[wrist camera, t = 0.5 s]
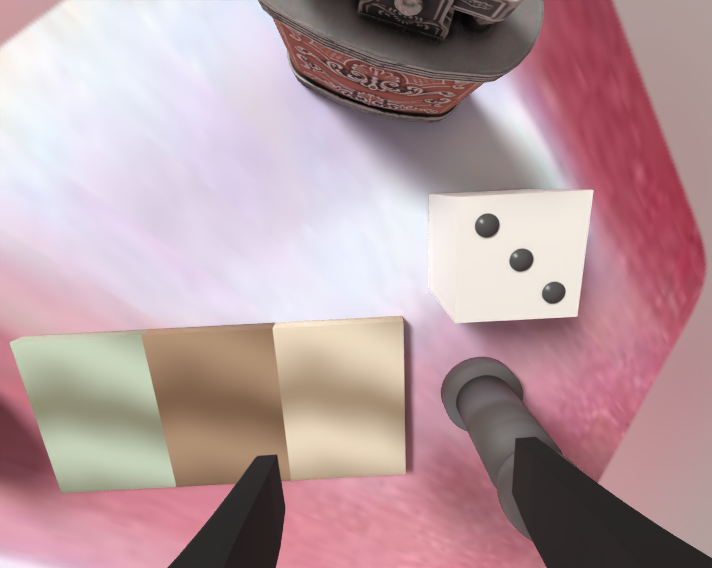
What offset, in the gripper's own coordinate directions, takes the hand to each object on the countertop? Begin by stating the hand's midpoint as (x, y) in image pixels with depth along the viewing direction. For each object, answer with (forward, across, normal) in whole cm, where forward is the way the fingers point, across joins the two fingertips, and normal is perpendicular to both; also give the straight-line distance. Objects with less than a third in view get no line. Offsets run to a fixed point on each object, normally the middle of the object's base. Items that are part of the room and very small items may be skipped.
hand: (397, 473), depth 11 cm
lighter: (+10, -1, -13) cm, 17 cm away
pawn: (+10, -6, +4) cm, 12 cm away
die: (+10, -6, -5) cm, 12 cm away
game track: (+10, +9, +4) cm, 14 cm away
